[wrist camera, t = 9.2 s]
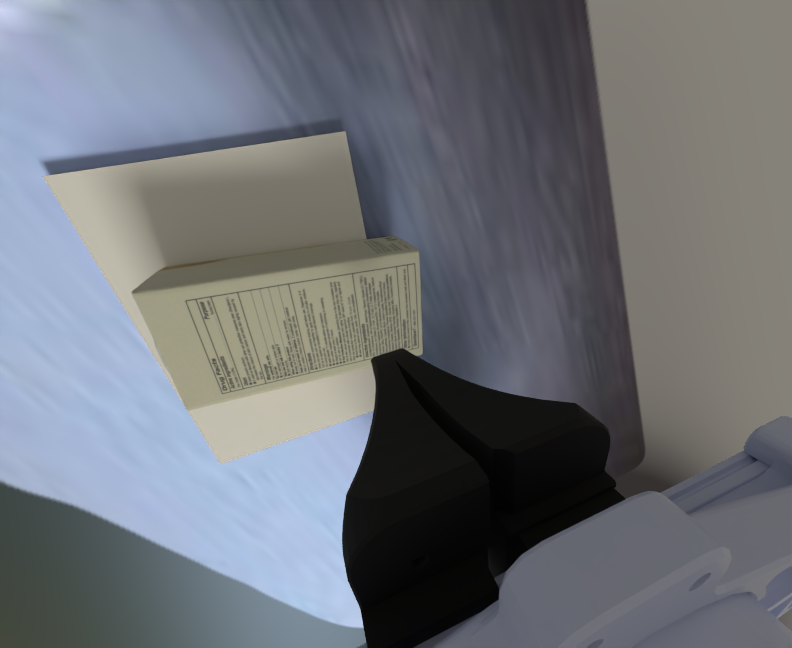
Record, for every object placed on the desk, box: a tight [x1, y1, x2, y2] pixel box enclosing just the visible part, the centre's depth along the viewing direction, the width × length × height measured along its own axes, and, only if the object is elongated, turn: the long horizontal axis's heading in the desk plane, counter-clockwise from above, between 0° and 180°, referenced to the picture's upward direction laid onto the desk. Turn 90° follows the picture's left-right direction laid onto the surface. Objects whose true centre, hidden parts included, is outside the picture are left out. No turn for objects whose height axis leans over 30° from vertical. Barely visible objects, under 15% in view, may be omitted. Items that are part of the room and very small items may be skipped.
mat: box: [43, 131, 376, 464], centre depth 19 cm, size 18×13×1 cm
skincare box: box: [132, 236, 423, 411], centre depth 17 cm, size 6×4×12 cm
